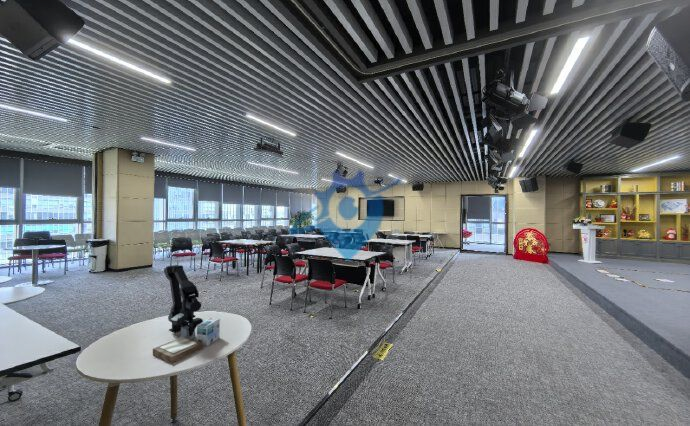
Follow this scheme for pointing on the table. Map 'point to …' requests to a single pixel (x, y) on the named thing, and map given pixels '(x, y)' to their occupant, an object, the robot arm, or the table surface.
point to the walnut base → (177, 349)
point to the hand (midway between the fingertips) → (187, 334)
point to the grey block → (186, 332)
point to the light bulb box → (208, 331)
